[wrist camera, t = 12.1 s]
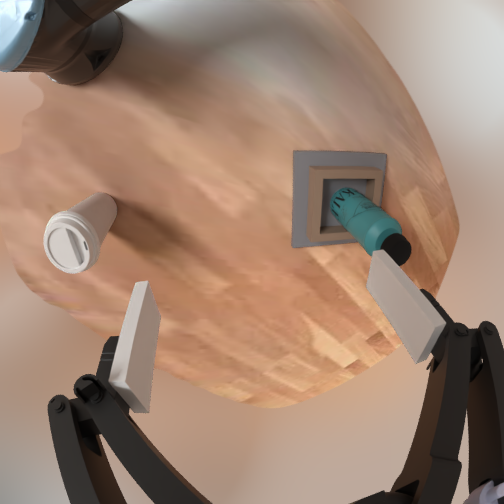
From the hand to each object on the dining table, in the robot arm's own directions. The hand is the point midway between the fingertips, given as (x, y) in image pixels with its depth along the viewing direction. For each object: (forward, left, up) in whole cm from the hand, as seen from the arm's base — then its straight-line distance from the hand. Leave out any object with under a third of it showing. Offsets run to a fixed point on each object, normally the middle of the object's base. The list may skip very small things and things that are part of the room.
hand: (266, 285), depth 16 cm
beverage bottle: (+7, +19, -32) cm, 38 cm away
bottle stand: (+7, +19, -33) cm, 39 cm away
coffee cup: (+5, -24, -33) cm, 42 cm away
